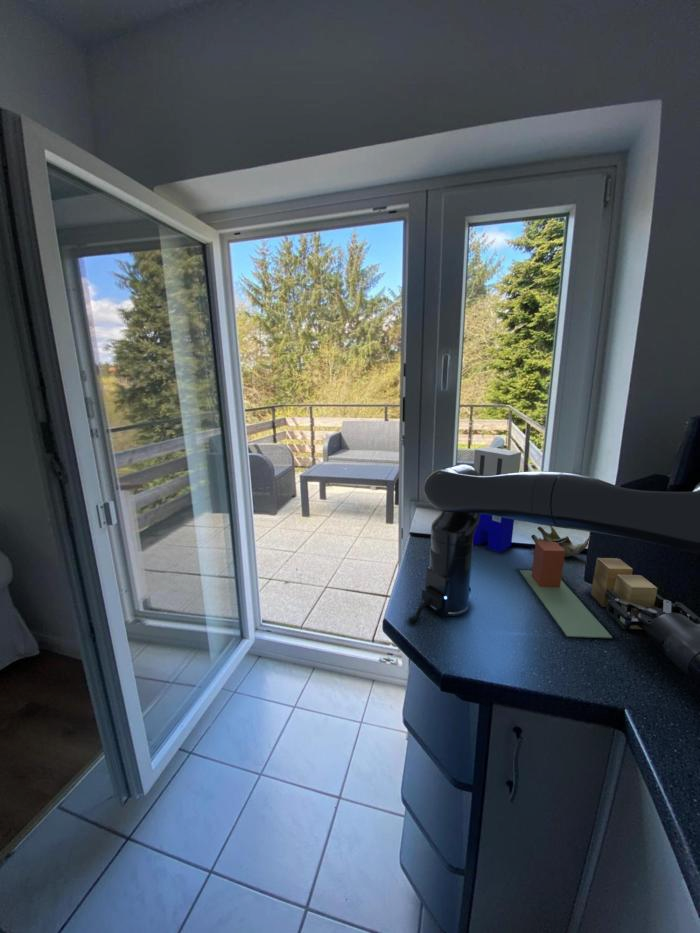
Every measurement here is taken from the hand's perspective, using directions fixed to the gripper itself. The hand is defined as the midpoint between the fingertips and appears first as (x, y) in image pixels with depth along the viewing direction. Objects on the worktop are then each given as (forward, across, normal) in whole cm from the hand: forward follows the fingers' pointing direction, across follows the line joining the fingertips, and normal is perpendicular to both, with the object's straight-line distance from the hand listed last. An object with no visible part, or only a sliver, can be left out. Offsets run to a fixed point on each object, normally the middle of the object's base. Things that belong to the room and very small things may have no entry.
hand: (627, 593), depth 81 cm
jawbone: (+29, 0, +6) cm, 30 cm away
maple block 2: (-2, 0, +6) cm, 6 cm away
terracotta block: (+13, +11, +6) cm, 18 cm away
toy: (+35, +19, +6) cm, 40 cm away
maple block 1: (+6, 0, +6) cm, 8 cm away
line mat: (+6, +11, +6) cm, 14 cm away
